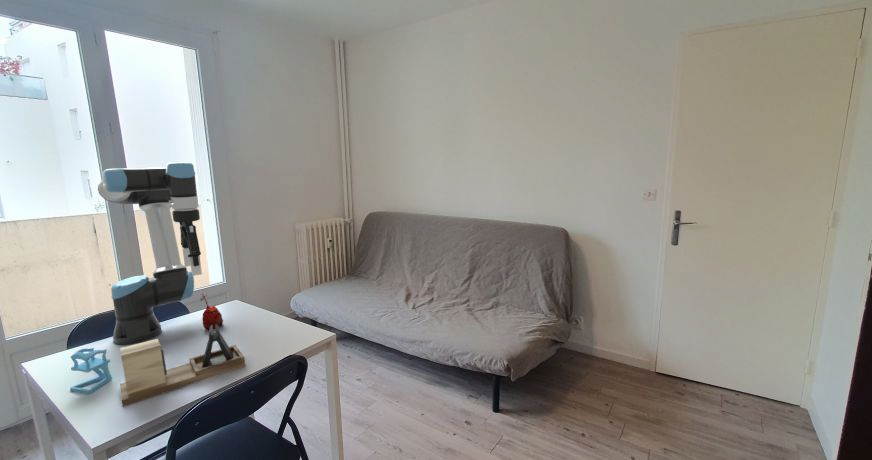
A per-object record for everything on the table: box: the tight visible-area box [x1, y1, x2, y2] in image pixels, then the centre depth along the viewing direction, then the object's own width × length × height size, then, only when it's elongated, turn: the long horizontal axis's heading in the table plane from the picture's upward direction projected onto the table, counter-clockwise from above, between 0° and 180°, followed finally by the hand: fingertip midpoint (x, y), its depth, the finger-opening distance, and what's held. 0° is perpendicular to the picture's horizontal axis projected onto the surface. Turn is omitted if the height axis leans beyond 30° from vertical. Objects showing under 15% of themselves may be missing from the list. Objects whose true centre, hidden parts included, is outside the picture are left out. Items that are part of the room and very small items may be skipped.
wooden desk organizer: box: [119, 344, 246, 408], centre depth 121 cm, size 11×32×4 cm, turn 131°
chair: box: [69, 347, 113, 394], centre depth 117 cm, size 8×8×12 cm
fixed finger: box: [119, 338, 167, 394], centre depth 114 cm, size 6×10×12 cm, turn 131°
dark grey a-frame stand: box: [202, 324, 233, 368], centre depth 126 cm, size 9×6×12 cm, turn 119°
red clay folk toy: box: [200, 293, 224, 331], centre depth 157 cm, size 8×7×15 cm
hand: (193, 270), depth 132 cm, fingers open, 13 cm apart
